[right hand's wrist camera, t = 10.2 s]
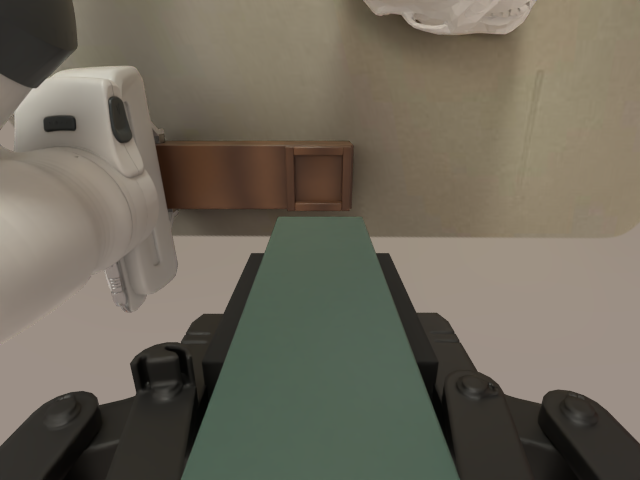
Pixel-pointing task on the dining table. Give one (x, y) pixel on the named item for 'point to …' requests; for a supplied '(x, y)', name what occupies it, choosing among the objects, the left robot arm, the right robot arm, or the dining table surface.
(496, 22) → the skull
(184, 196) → the walnut base
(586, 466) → the right robot arm
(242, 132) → the dining table surface
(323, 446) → the peg
